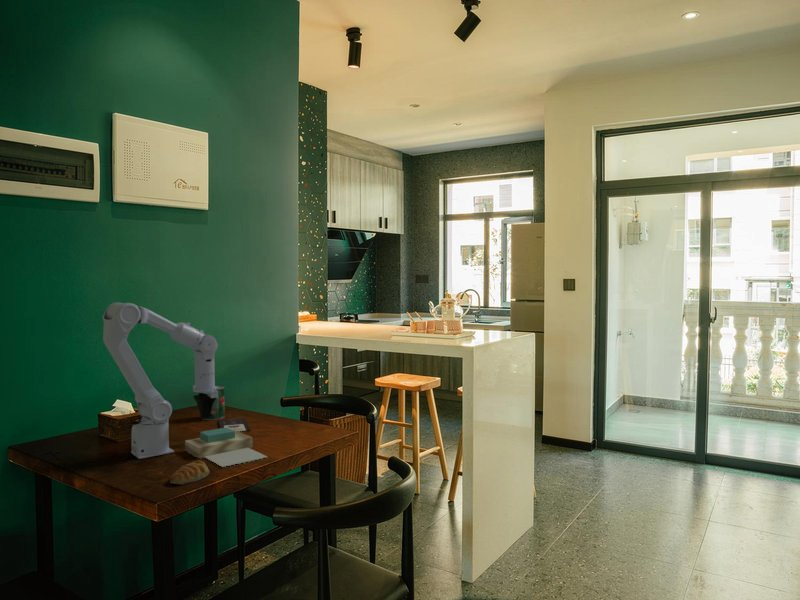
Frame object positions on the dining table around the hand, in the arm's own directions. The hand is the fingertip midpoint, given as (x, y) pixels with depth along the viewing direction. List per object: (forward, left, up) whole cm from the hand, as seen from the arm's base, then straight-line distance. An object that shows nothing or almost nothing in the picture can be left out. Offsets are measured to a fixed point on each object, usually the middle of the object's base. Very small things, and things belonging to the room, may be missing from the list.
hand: (205, 418), depth 171 cm
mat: (0, -21, -7) cm, 22 cm away
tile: (0, -9, -3) cm, 10 cm away
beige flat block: (0, -10, -7) cm, 12 cm away
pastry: (-16, -29, -8) cm, 34 cm away
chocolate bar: (+15, +13, -8) cm, 21 cm away
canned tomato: (+15, +30, -8) cm, 34 cm away
